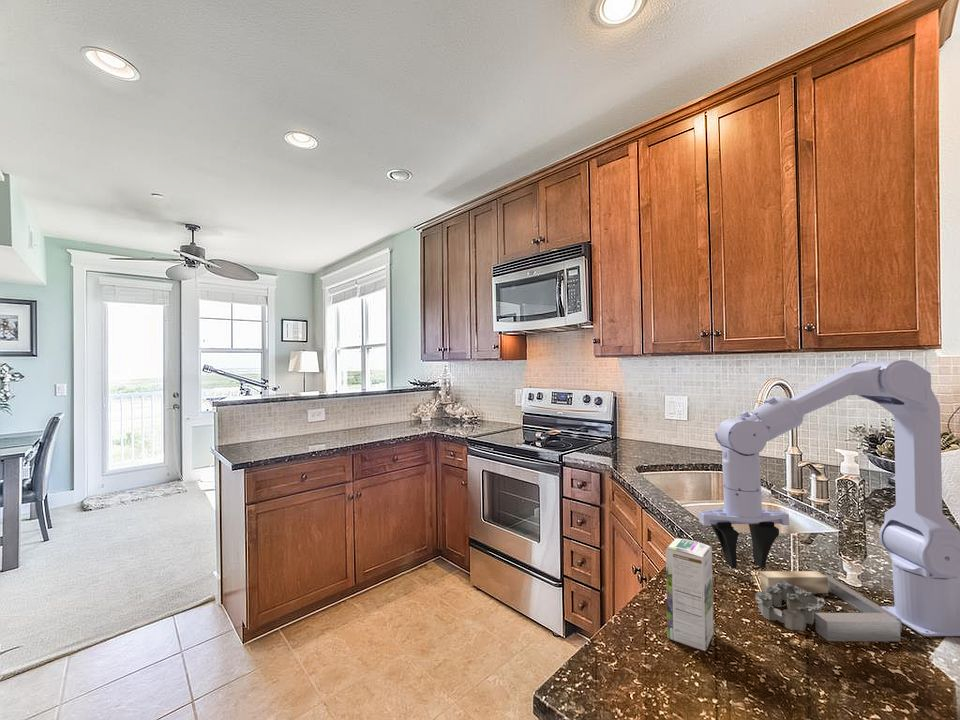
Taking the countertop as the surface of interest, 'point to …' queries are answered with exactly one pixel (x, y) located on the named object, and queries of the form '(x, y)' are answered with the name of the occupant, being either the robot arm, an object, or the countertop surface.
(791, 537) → the countertop surface
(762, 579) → the block
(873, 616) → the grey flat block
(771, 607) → the egg carton
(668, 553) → the syrup box
